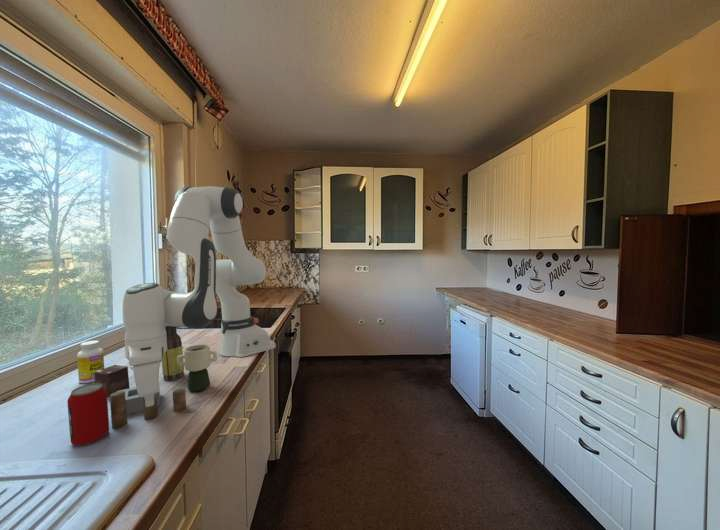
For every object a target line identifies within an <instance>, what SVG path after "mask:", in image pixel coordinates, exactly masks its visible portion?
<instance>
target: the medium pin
mask: <svg viewBox="0 0 720 530" xmlns="http://www.w3.org/2000/svg"><path fill="white" fill-rule="evenodd" d="M109 407H110V419H111V429H115V430H116V429H120V428H123V427H124V426H126V425H127V424H128V415H127V412H126V398H125V391H119V392H115V393H113V394H111V395H110V397H109Z"/></svg>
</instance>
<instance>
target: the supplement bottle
mask: <svg viewBox="0 0 720 530" xmlns="http://www.w3.org/2000/svg"><path fill="white" fill-rule="evenodd" d="M99 345H100V341H99V340H89V341H85V342H81V343H80V349H81V350H80V351H79V352H77V354H76V357H77V358H76V359H77V371H78V373H77V375H78V376H77V377H78V382H79V383H80V384H91V383H95V382H94V381H95V374H94V372H96V371H99V370H102V369H105V359H104V356H105V355H104V350H103V348H101V347H99ZM90 382H91V383H90Z"/></svg>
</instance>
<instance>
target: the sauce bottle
mask: <svg viewBox="0 0 720 530" xmlns="http://www.w3.org/2000/svg"><path fill="white" fill-rule="evenodd" d="M165 329H166V336H167V351H166V352H165V353H164V355H163V358H162V360H161V367H162V368H161V370H162V375H163V380H164V381H165V382H167V381H168V382H171V381H176V380H178V379H180V378H182V377H183V376H184V375H185V365H184V366H178V364H177V357H178V356H179V355H184V350H183V343H182V339H181V336H180V335H179V334H178V333H177V331H178V330H177V327H174V326H166V327H165ZM184 362H185V361H184V358H181V363H184Z"/></svg>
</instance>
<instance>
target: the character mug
mask: <svg viewBox="0 0 720 530" xmlns="http://www.w3.org/2000/svg"><path fill="white" fill-rule="evenodd" d="M217 354H218V353H217V351H216V350H212V351H211V348H210V345H209V344H206V343H204V344H203V343H200V344H193V345H189V346H187V347H185V348H184V349H183V355H179V356H178V357H177V364H178V366H184V370H185V371H187V372H188V376H187V390H188V391H191V392H198V391H201V390H204V389H206V388H208V387H210V385H211V381H210V377H209V376H210V374H209V372H208V371H209V370H208V369H207V368H209V367H210V365H211V363H212V362H216V361H217V360H218V355H217ZM211 355H213V357H212V358H211ZM181 358H183V361H184V363H181Z"/></svg>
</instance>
